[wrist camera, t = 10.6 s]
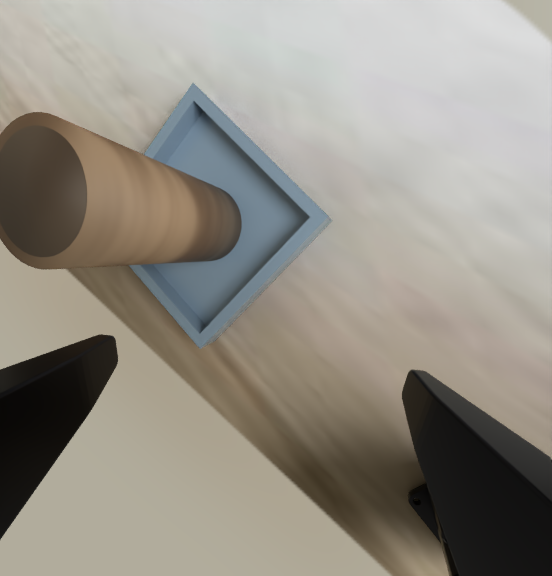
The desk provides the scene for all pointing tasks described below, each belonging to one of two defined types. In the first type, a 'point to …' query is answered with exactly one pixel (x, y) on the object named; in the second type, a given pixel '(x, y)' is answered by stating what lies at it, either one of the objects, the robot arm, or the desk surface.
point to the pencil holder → (103, 202)
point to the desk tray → (254, 214)
